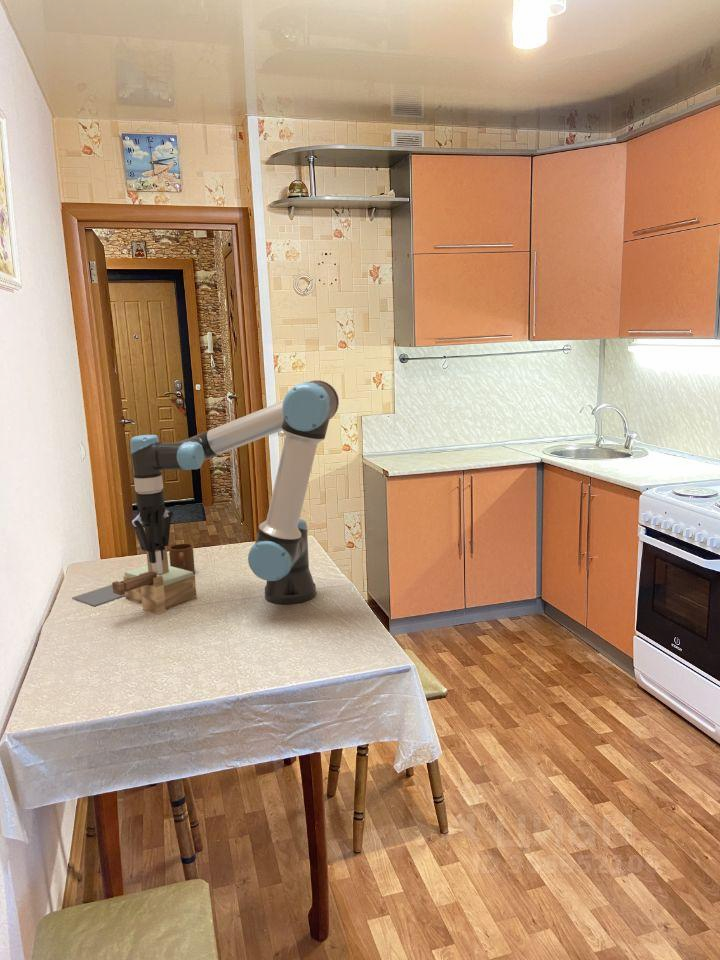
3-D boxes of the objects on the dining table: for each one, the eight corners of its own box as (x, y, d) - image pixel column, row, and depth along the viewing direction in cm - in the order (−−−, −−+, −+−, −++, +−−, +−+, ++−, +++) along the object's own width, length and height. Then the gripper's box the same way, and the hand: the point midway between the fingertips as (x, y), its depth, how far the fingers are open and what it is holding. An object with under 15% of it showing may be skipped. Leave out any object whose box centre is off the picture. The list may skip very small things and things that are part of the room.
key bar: (158, 582, 200) (157, 572, 200) (120, 595, 191) (119, 584, 190) (150, 580, 203) (149, 570, 202) (113, 593, 193) (112, 582, 193)
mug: (195, 580, 227) (193, 552, 225) (171, 583, 225) (168, 554, 223) (194, 569, 238) (192, 542, 236) (171, 572, 236) (168, 544, 235)
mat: (152, 586, 222) (152, 585, 222) (94, 606, 207) (94, 605, 207) (129, 580, 230) (129, 578, 230) (72, 598, 214) (71, 597, 214)
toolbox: (199, 598, 210) (196, 564, 208) (158, 614, 199) (155, 578, 197) (159, 587, 222) (156, 554, 220) (118, 601, 211) (114, 567, 209)
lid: (193, 579, 210) (190, 545, 208) (162, 590, 201) (159, 555, 199) (156, 569, 220) (153, 537, 218) (125, 579, 212) (121, 546, 210)
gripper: (160, 485, 205) (168, 564, 209) (120, 494, 194) (130, 577, 199) (177, 487, 200) (184, 568, 205) (137, 497, 190) (146, 581, 194)
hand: (157, 572), depth 202 cm, fingers closed
